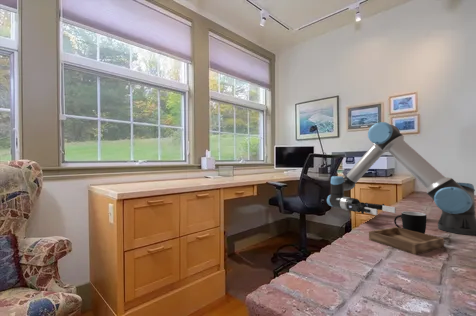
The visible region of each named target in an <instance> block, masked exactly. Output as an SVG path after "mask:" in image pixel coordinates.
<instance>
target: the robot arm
mask: <svg viewBox="0 0 476 316" xmlns="http://www.w3.org/2000/svg"><path fill="white" fill-rule="evenodd" d="M367 138H368V140H369V141H370V142H371V143H372V145H371V146H370V147H369V149H368V150H367V151H366V152H365V153H364V154H363V155H362V156H361V158H360V159H359V160H358V161H357V162H356V163H355V165H353V167H352V168H350V170H349V171H348V173H347V174H346V175H345V176H341V175H340V176H339V175H337V176H336V175H332V176H331V177H330V194H329V195H328V196H327V198H326V203H327V205H328V206H329V207H333V208H335V209H341V210H345V211H349V212H353V213H361V214H362V215H364V214H369V215H374V216H378V215H379V214H378V211H383V212H388V213H393V214H396V212H397V211H396V210H397V208H396V207H394V206H388V205H386V204H385V203H382V204H380V203H379V204H378V203H370V202H362V201H360V200H359V199H358V198H356V197H355V198H354V197H350V196H349V197H348V196H345V191H350V190H352V189H354V188H355V186H356V184H357V183H358V182H359V180H360V179H361V178H362V177H363V176H364V175H365V174H366V173H367V172H368V171H369V170H370V169H371V167H372V166H373V165H374V164H375V163H376V162H377V161H378V160H379V159H380V158H381V156H383V154H385V153H386V152H388V153H389V154H390V155H392V156H393V158H394V159H395V160H397V161H398V163H400V164H401V165H402V166H403V167H404V168H405V169H406V170H407V171H408V172H409V173H410V174H411V175H412V176H413V177H414V178H415V179H417V180H418V181H419V183H421V185H423V186H424V187H425V189H426V194H427V195H428V196H429V197H430V198H431V199H432V200H433V201H434V203H435V205H436V206H437V208H438V209H439V210H441V214H440V217H439V219H438V222H437V228H438V229H439V230H441V231H444V232H449V233H453V234H458V235H465V236H466V235H467V236H476V209H475V208H476V205H475V201H476V200H475V191H476V189H475V185H474V184H472V183H467V182H457V181H456V180H454V178H452V177H445V176H444V175H443V174H442V173H441V172H440V171H438V170H437V168H435V167H434V166H433V165H432V164H431V163H429V162H428V161H427V160H426V159H425V158H424V157H423V156H422V155H420V154H419V153H418V151H416V150H415V149H414V148H412V146H410V144H408V143H407V142H406V141H405V140H404V139H405V136H404V135H403V134H402V133H401V131H400V129H399V128H398V127H397V126H396V125H393V124H390V123H388V122H384V121H380V122H376V123H374V124H372V125H371V126H370V127H369V129H368V131H367Z"/></svg>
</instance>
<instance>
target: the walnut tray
mask: <svg viewBox="0 0 476 316" xmlns="http://www.w3.org/2000/svg"><path fill="white" fill-rule="evenodd" d="M402 228H403V227H401V228H398V227H397V226H393V227H388V228H383V229H376V230H370V231H368V240H369V241H372V242H374V243H378V244H381V245H384V246H387V247H391V248H393V249H397V250H399V251H403V252H405V253H406V252H407V253H409V254H412V255H415V256H417V255H420V254H424V253H427V252H431V251H435V250H440V249H443V248H445V240H444V237H439V236H436V235H431V234H427V233H425V234H423V233H419V232H415V231H411V230H407V229H402Z"/></svg>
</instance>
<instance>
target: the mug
mask: <svg viewBox="0 0 476 316" xmlns="http://www.w3.org/2000/svg"><path fill="white" fill-rule="evenodd" d="M398 218H401V223H402V227H401V226H399V225H398V223H397V219H398ZM393 219H394V220H393V222H394V225H395V227H398V228H402V229H407V230H411V231H415V232H419V233H423V234H426V229H427V220H428V218H427V213H425V212H424V213H423V212H419V211H408V210H407V211H404V210H403V211H401V214H400V215H396V216H395V218H393Z"/></svg>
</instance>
